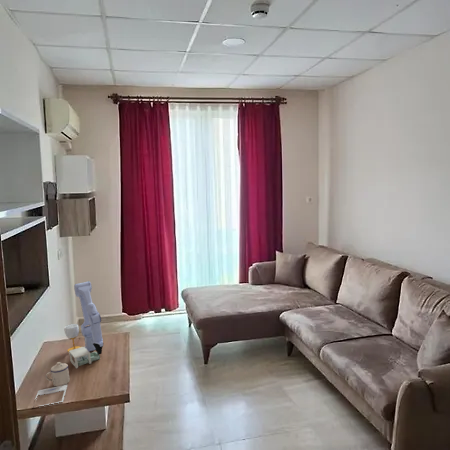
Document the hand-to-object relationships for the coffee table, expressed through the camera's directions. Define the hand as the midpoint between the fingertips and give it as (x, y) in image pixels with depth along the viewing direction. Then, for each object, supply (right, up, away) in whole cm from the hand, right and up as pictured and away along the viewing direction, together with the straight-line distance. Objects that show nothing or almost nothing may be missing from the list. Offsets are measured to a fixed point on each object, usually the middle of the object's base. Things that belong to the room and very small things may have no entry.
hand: (99, 354), depth 259 cm
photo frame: (-12, -9, -44) cm, 47 cm away
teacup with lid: (-13, -7, -30) cm, 34 cm away
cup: (-21, -2, +15) cm, 26 cm away
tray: (-6, -3, -4) cm, 8 cm away
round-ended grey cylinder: (-7, -2, -5) cm, 9 cm away
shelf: (-9, -3, -6) cm, 12 cm away
